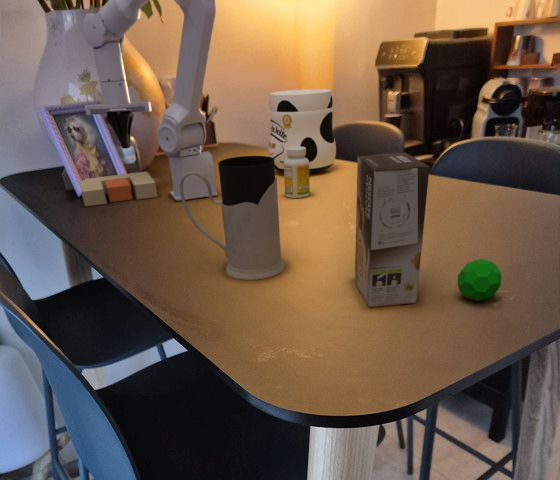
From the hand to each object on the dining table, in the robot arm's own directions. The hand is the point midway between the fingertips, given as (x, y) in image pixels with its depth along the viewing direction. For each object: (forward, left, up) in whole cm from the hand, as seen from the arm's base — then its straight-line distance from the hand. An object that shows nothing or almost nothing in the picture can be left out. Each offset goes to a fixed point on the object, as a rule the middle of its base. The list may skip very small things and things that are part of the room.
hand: (126, 147), depth 120 cm
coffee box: (-23, +80, -10) cm, 84 cm away
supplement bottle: (-32, +27, -10) cm, 43 cm away
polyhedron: (-32, +87, -10) cm, 93 cm away
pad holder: (+4, +4, -9) cm, 11 cm away
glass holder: (-8, +63, -10) cm, 64 cm away
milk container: (-43, +3, -10) cm, 44 cm away
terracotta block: (+4, +6, -9) cm, 12 cm away
